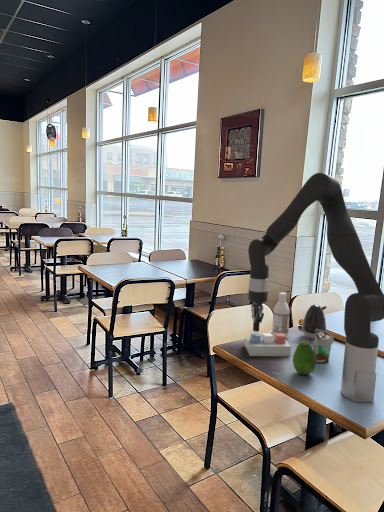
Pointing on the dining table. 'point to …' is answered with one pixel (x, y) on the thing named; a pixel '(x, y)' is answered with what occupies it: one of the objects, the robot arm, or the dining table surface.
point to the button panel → (267, 348)
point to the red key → (279, 338)
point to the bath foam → (281, 316)
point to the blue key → (255, 338)
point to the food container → (322, 346)
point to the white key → (267, 338)
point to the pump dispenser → (314, 321)
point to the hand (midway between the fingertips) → (255, 330)
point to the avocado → (304, 358)
